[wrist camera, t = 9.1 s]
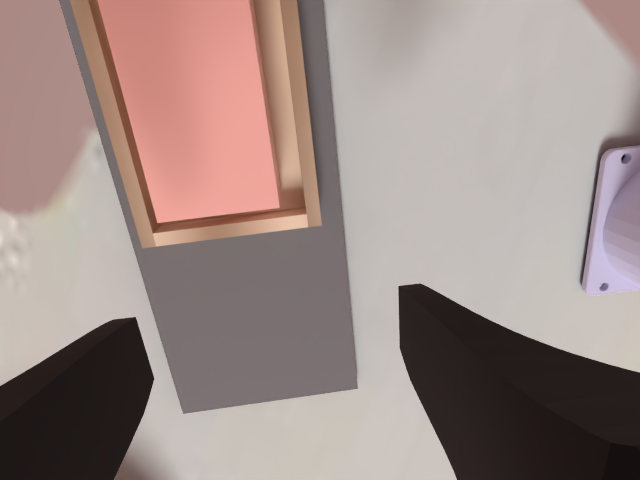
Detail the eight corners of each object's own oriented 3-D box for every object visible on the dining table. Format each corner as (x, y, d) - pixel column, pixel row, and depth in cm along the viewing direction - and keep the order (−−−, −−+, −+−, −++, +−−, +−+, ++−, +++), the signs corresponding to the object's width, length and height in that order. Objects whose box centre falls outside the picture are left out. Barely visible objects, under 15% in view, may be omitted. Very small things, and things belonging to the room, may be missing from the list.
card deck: (281, 190, 17) (279, 207, 14) (178, 202, 17) (157, 223, 14) (253, -4, 15) (244, -29, 12) (131, 9, 14) (93, -14, 12)
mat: (314, -72, 15) (315, -80, 14) (356, 381, 22) (357, 388, 22) (52, -47, 14) (43, -53, 14) (185, 405, 22) (183, 413, 22)
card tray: (288, -57, 14) (288, -76, 13) (318, 215, 18) (321, 225, 17) (79, -37, 14) (54, -53, 13) (154, 236, 18) (142, 248, 16)
